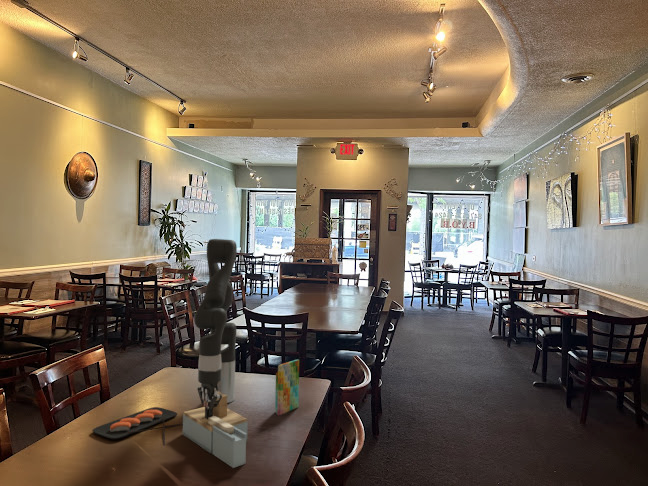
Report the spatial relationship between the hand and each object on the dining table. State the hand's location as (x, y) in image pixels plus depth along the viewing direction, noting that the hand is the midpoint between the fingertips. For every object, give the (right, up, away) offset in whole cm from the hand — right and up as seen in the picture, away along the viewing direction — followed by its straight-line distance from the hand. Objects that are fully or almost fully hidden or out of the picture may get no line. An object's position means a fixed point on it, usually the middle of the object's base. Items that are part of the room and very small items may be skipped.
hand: (208, 418), depth 158 cm
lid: (+1, -2, +6) cm, 7 cm away
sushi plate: (-24, -9, +13) cm, 29 cm away
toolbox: (+5, -9, +1) cm, 11 cm away
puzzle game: (+23, -10, +34) cm, 43 cm away
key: (+5, -1, -5) cm, 7 cm away
